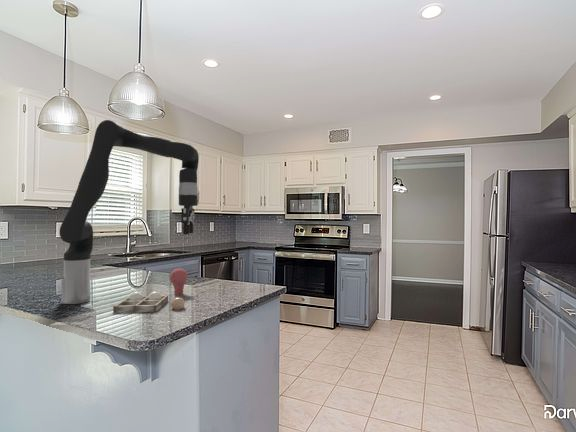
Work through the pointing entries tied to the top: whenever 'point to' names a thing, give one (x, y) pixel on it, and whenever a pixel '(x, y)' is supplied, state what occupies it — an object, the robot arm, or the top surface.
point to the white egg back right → (154, 296)
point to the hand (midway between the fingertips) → (188, 233)
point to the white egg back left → (136, 296)
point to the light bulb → (178, 280)
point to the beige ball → (177, 303)
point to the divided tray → (140, 305)
